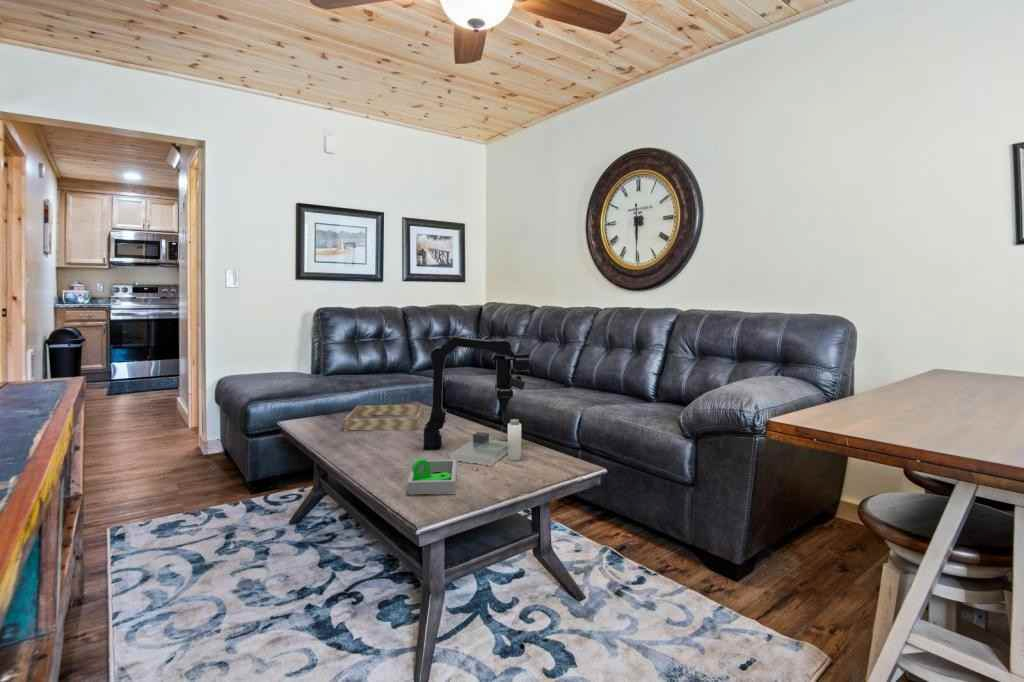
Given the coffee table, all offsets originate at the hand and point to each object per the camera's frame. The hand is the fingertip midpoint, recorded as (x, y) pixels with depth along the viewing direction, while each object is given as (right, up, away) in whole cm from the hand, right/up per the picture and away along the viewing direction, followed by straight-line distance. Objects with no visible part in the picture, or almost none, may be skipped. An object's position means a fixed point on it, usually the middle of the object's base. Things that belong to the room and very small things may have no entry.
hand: (503, 410), depth 210 cm
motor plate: (-8, -16, -9) cm, 20 cm away
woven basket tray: (-56, -11, +38) cm, 68 cm away
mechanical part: (-22, -19, -38) cm, 48 cm away
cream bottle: (+4, -16, -14) cm, 22 cm away
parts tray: (-22, -18, -38) cm, 48 cm away
